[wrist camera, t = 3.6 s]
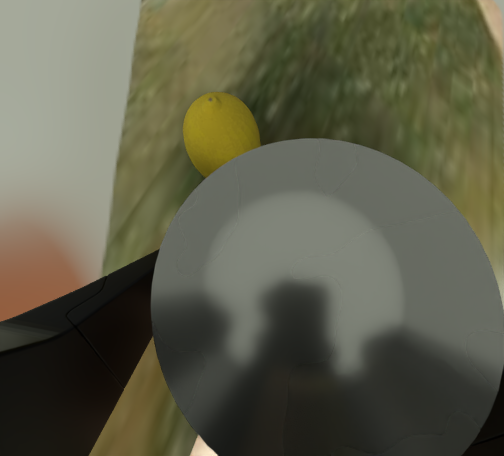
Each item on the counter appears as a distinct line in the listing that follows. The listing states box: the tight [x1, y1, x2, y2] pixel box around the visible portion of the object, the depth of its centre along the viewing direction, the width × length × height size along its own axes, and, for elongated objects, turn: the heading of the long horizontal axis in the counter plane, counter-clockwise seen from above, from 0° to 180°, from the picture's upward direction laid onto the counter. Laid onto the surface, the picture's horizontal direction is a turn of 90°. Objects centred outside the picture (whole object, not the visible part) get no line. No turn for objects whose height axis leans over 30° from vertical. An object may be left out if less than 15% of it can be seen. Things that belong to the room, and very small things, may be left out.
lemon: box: [183, 92, 261, 178], centre depth 15 cm, size 6×6×8 cm
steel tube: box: [151, 138, 504, 456], centre depth 9 cm, size 5×5×14 cm
